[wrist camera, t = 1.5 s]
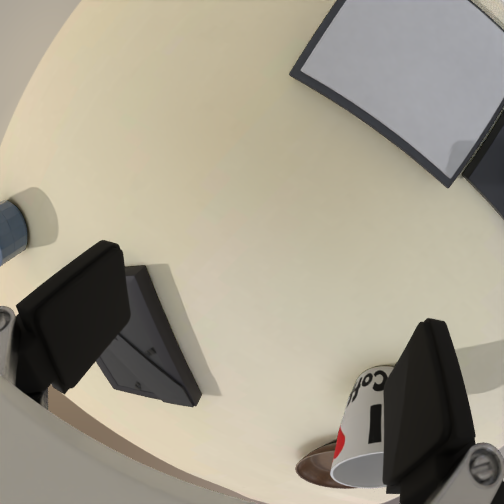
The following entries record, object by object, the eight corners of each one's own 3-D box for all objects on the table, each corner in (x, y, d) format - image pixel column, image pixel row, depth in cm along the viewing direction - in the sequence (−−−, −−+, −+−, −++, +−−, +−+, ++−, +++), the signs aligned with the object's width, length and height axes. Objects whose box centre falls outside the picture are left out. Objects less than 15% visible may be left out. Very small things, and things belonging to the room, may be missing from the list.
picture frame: (202, 394, 35) (145, 265, 27) (195, 408, 33) (132, 277, 25) (120, 379, 39) (61, 270, 32) (112, 390, 37) (49, 280, 30)
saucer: (417, 460, 32) (417, 475, 30) (331, 480, 39) (329, 494, 37) (378, 419, 29) (377, 438, 27) (277, 445, 36) (273, 461, 34)
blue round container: (-1, 221, 32) (-27, 236, 28) (7, 187, 29) (-23, 202, 25) (24, 258, 33) (-1, 276, 29) (35, 227, 30) (5, 246, 26)
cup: (384, 341, 25) (389, 440, 16) (435, 377, 25) (447, 464, 16) (324, 385, 29) (309, 473, 20) (377, 414, 29) (373, 493, 21)
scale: (293, 78, 17) (286, 73, 15) (376, -45, 12) (380, -63, 9) (437, 179, 18) (451, 192, 15) (513, 59, 12) (534, 57, 9)
